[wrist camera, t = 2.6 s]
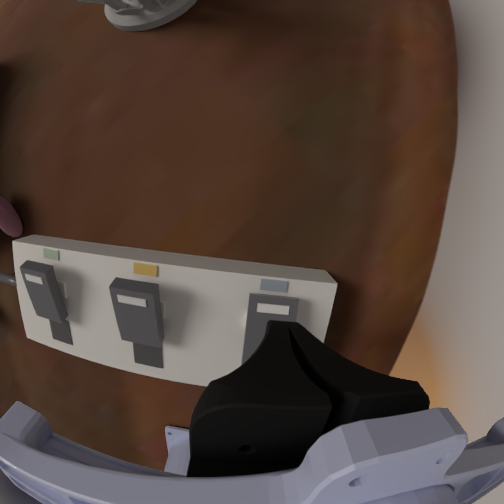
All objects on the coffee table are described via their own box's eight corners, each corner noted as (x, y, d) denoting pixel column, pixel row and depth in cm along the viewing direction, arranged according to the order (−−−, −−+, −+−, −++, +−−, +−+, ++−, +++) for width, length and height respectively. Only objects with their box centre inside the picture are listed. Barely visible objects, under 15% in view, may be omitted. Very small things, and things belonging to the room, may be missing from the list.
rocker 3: (285, 365, 16) (288, 371, 15) (241, 362, 16) (241, 368, 15) (295, 297, 17) (299, 299, 16) (249, 292, 17) (249, 294, 15)
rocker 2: (164, 337, 17) (160, 348, 16) (126, 329, 17) (121, 340, 16) (158, 284, 15) (152, 295, 14) (115, 277, 15) (108, 287, 14)
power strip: (302, 371, 22) (309, 397, 18) (14, 313, 21) (-5, 325, 17) (325, 270, 20) (339, 285, 16) (4, 230, 19) (-19, 236, 15)
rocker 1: (68, 315, 17) (61, 324, 16) (43, 307, 17) (36, 315, 16) (52, 265, 15) (44, 273, 14) (27, 259, 15) (18, 267, 14)
